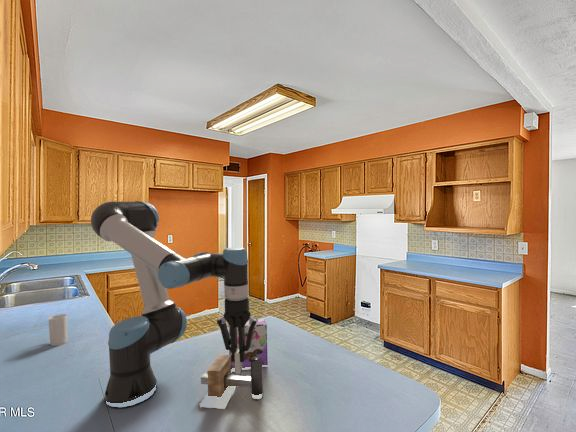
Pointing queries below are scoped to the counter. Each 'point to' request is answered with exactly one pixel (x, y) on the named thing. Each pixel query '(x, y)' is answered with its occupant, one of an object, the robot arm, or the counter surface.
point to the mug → (58, 329)
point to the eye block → (218, 375)
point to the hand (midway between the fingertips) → (238, 371)
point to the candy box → (253, 343)
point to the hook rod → (245, 377)
